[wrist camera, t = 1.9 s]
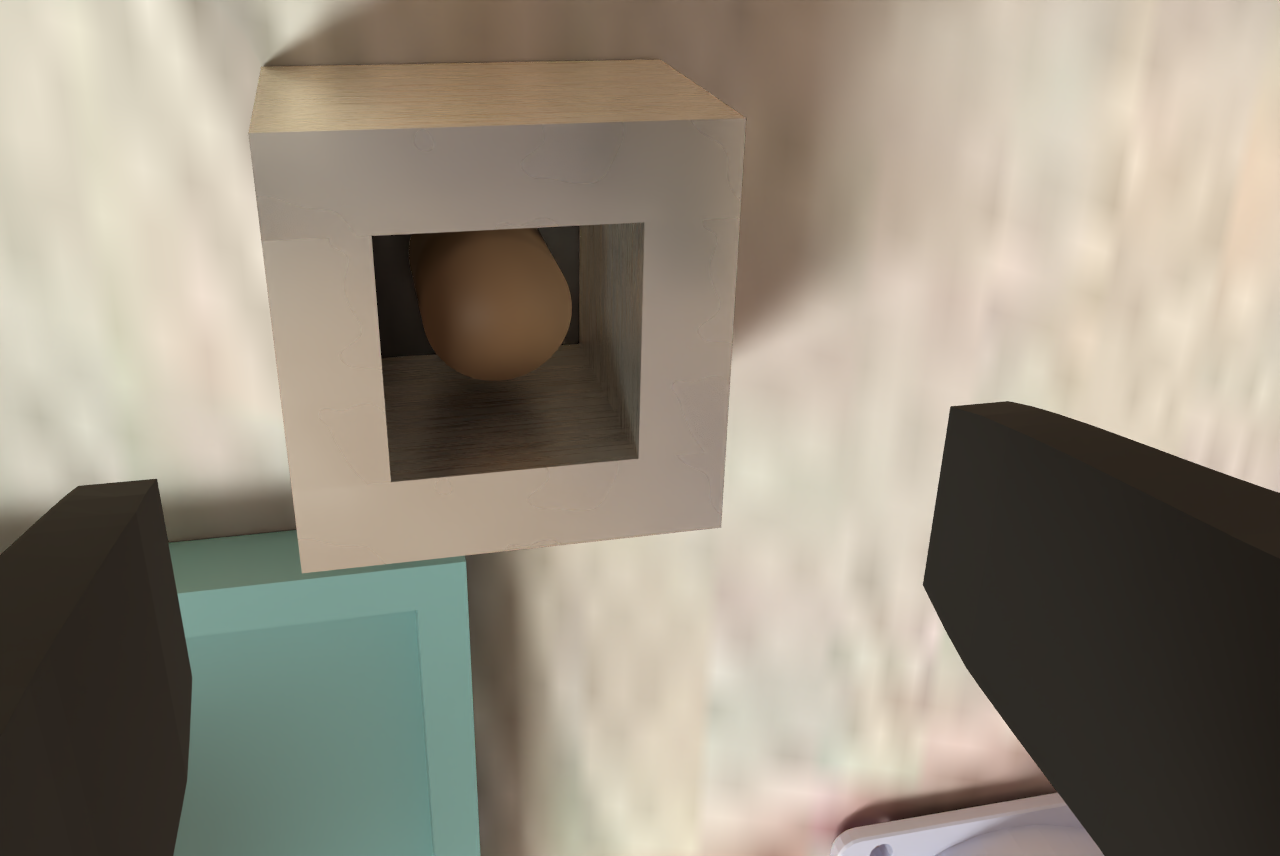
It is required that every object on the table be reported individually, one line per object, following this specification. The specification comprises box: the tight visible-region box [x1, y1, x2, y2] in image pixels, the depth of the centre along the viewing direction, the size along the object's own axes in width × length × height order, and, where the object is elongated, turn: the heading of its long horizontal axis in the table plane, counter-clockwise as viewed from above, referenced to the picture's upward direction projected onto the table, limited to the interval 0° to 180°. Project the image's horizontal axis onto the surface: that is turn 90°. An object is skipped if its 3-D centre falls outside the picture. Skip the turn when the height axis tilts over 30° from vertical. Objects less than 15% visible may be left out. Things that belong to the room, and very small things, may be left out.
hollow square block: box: [248, 59, 746, 573], centre depth 16 cm, size 6×6×4 cm
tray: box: [168, 530, 480, 856], centre depth 21 cm, size 11×11×2 cm
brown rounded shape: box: [409, 228, 572, 381], centre depth 17 cm, size 2×2×2 cm
